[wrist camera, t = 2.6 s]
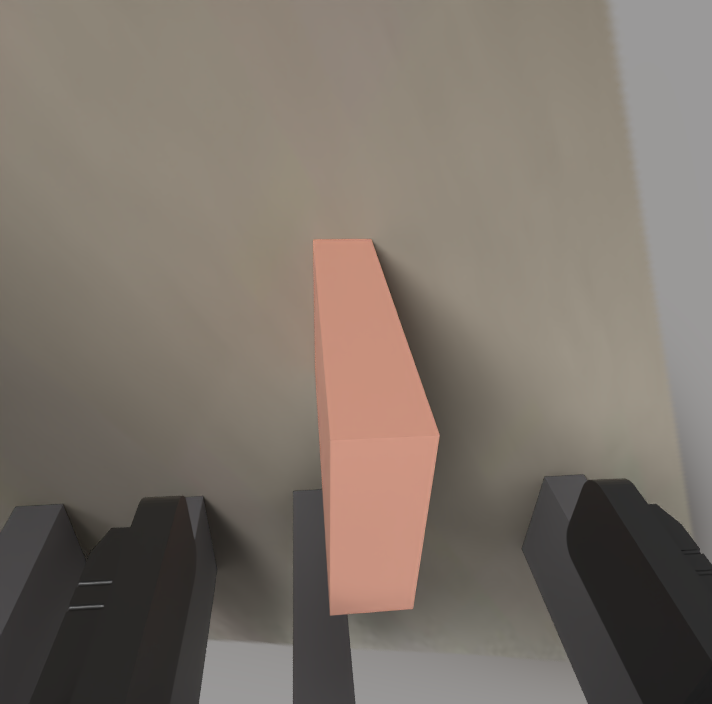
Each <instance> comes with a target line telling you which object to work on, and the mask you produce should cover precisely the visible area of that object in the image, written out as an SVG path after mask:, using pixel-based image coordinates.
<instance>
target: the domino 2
mask: <svg viewBox="0 0 712 704" xmlns="http://www.w3.org/2000/svg"><path fill="white" fill-rule="evenodd" d="M185 499H186V502H187V506H188V511H189V516H190V520H191V525H192V530H193V535H194V539H195V544H196V556H197V560H196V574H195V580H194V585H193V590H192V595H191V600H190V605H189V610H188V615H187V620H186V626H185V631H184V636H183V641H182V646H181V651H180V656H179V661H178V666H177V671H176V676H175V681H174V686H173V691H172V696H171V701H170V704H199V697H200V690H201V682H202V675H203V669H204V661H205V654H206V647H207V640H208V633H209V626H210V618H211V611H212V604H213V597H214V590H215V582H216V575H217V567H216V562H215V556H214V551H213V546H212V541H211V535H210V530H209V525H208V520H207V514H206V509H205V504H204V499H203V496H196V497H185Z"/></svg>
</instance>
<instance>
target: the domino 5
mask: <svg viewBox="0 0 712 704" xmlns="http://www.w3.org/2000/svg"><path fill="white" fill-rule="evenodd" d="M586 481H587V479H586V478H585V476H584V475H567V476H549V477H544V480H543V483H542V486H541V490H540V493H539V496H538V499H537V502H536V505H535V508H534V512H533V515H532V518H531V521H530V524H529V527H528V530H527V534H526V537H525V540H524V543H523V546H522V551H523V553H524V555H525V558H526V560H527V562H528V565H529V567H530V569H531V572H532V574H533V576H534V579H535V581H536V583H537V586H538V588H539V590H540V593H541V595H542V597H543V600H544V602H545V604H546V607H547V609H548V611H549V614H550V616H551V618H552V621H553V623H554V625H555V628H556V630H557V632H558V635H559V637H560V639H561V642H562V644H563V646H564V649H565V651H566V653H567V656H568V658H569V660H570V663H571V664H572V667H573V670H574V672H575V674H576V677H577V679H578V681H579V684H580V686H581V688H582V691H583V693H584V695H585V698H586V700H587V702H588V704H643V703H642V701H641V699H640V697H639V695H638V693H637V691H636V689H635V687H634V685H633V683H632V681H631V679H630V677H629V675H628V673H627V671H626V669H625V667H624V665H623V663H622V661H621V659H620V657H619V655H618V653H617V651H616V649H615V647H614V645H613V643H612V641H611V639H610V636H609V634H608V632H607V630H606V628H605V626H604V624H603V622H602V620H601V618H600V616H599V614H598V612H597V610H596V608H595V606H594V604H593V602H592V600H591V598H590V596H589V594H588V592H587V590H586V588H585V586H584V584H583V582H582V580H581V578H580V576H579V574H578V572H577V570H576V568H575V566H574V564H573V562H572V560H571V558H570V555H569V552H568V547H567V541H566V533H567V528H568V525H569V522H570V519H571V517H572V514H573V511H574V509H575V506H576V503H577V500H578V498H579V495H580V492H581V490H582V487H583V485H584V483H585V482H586Z"/></svg>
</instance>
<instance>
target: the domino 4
mask: <svg viewBox="0 0 712 704" xmlns="http://www.w3.org/2000/svg"><path fill="white" fill-rule="evenodd" d="M313 270H314V328H315V377H316V394H317V410H318V426H319V443H320V459H321V476H322V492H323V509H324V525H325V542H326V558H327V575H328V591H329V607H330V616H332V615H344V614H356V613H369V612H381V611H393V610H405V609H413V605H414V599H415V592H416V586H417V579H418V573H419V566H420V560H421V553H422V547H423V540H424V534H425V527H426V521H427V515H428V508H429V502H430V495H431V489H432V482H433V476H434V469H435V463H436V456H437V450H438V443H439V437H440V434H439V432H438V429H437V426H436V423H435V420H434V417H433V414H432V412H431V409H430V406H429V403H428V400H427V397H426V394H425V391H424V389H423V386H422V383H421V380H420V377H419V374H418V371H417V369H416V366H415V363H414V360H413V357H412V354H411V351H410V349H409V346H408V343H407V340H406V337H405V334H404V331H403V329H402V326H401V323H400V320H399V317H398V314H397V311H396V309H395V306H394V303H393V300H392V297H391V294H390V291H389V288H388V286H387V283H386V280H385V277H384V274H383V271H382V268H381V266H380V263H379V260H378V257H377V254H376V251H375V248H374V246H373V243H372V240H371V239H326V240H313Z"/></svg>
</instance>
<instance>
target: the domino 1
mask: <svg viewBox="0 0 712 704" xmlns="http://www.w3.org/2000/svg"><path fill="white" fill-rule="evenodd" d="M85 564H86V560H85V557H84V555H83V552H82V550H81V547H80V545H79V542H78V540H77V537H76V535H75V533H74V530H73V528H72V525H71V523H70V520H69V518H68V515H67V513H66V511H65V508H64V506H63V504H55V505H37V506H20V507H15V508H14V510H13V512H12V514H11V515H10V517H9V519H8V521H7V522H6V524H5V526H4V528H3V529H2V531H1V533H0V704H29V702H30V699H31V697H32V694H33V692H34V690H35V687H36V685H37V682H38V680H39V677H40V675H41V672H42V670H43V667H44V665H45V663H46V660H47V658H48V655H49V653H50V650H51V648H52V645H53V643H54V640H55V638H56V635H57V633H58V631H59V628H60V626H61V623H62V621H63V618H64V616H65V613H66V612H67V611H68V610H69V603H70V601H71V599H72V596H73V594H74V591H75V589H76V587H78V585H79V582H78V581H79V579H80V576H81V574H82V572H83V569H84V567H85Z"/></svg>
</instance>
